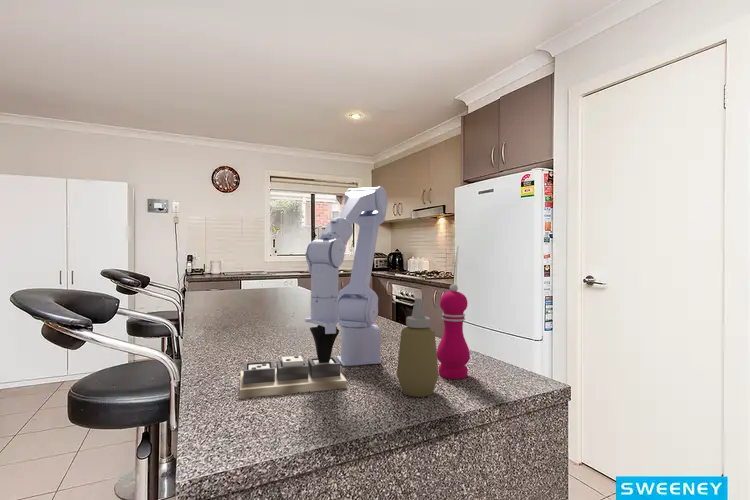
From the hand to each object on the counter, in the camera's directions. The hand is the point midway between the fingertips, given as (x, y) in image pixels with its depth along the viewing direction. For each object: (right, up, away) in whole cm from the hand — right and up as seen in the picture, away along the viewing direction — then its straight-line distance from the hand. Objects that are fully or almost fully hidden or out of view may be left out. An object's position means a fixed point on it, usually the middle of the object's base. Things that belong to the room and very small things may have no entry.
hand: (323, 361), depth 83 cm
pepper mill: (+28, -4, +5) cm, 29 cm away
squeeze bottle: (+19, -4, -7) cm, 20 cm away
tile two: (-6, -1, -2) cm, 7 cm away
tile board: (-6, -4, -2) cm, 8 cm away
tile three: (-12, -2, -4) cm, 13 cm away
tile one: (0, -2, 0) cm, 2 cm away
